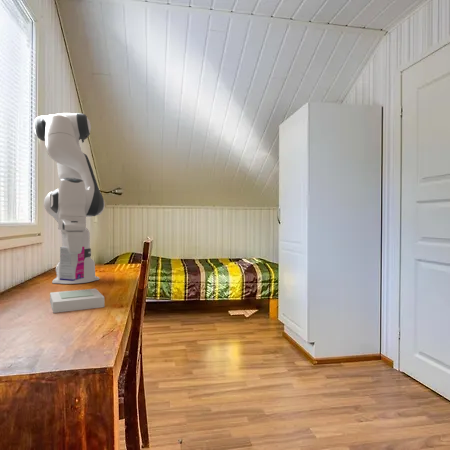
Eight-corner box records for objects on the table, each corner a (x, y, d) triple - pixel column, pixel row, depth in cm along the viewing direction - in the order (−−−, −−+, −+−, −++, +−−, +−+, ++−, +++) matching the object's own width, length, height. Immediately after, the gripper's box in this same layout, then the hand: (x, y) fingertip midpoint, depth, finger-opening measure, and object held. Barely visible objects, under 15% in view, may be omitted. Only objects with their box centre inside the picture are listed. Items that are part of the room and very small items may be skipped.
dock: (49, 301, 115) (49, 291, 115) (95, 296, 121) (95, 287, 121) (52, 312, 100) (52, 301, 100) (104, 306, 107) (104, 296, 107)
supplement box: (74, 281, 120) (73, 247, 119) (59, 280, 121) (59, 247, 121) (84, 278, 125) (84, 246, 125) (70, 277, 127) (70, 245, 126)
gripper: (59, 223, 130) (59, 260, 131) (65, 225, 112) (64, 268, 113) (78, 223, 133) (77, 259, 134) (86, 225, 115) (85, 267, 116)
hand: (71, 264), depth 123 cm, fingers closed on supplement box, 8 cm apart
